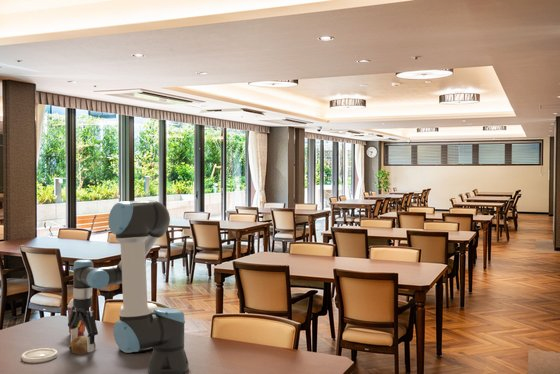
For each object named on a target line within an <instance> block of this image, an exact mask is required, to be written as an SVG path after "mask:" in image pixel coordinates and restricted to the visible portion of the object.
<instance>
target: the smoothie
mask: <svg viewBox="0 0 560 374" xmlns="http://www.w3.org/2000/svg"><path fill="white" fill-rule="evenodd" d="M74 298H75V297H72V298H71V299H70V300H69V302H68V304H67V318H68V319H67V320H68V322H69V318H70V315H71V311H72V306H73V299H74ZM71 323H72V322H71ZM77 326H78V327H77V328H78V337H80V336H84V333H85V331H86V326H85V324H84V322H82V320H80V321H79V323H78V325H77ZM68 333H69V335H70V336H71V329H70V326H68Z"/></svg>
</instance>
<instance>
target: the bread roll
mask: <svg viewBox="0 0 560 374" xmlns="http://www.w3.org/2000/svg"><path fill="white" fill-rule="evenodd" d="M87 336H88V335H81V336H78V337H77V338H76V339H74V340H73V341H72V342H71V341H70V344H69V345H68V349H69V352H70V353H72V354H74V355H86V354H91V353H93V351H91V352H87ZM96 346H97V345H96V341H94V350H96Z"/></svg>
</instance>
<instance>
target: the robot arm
mask: <svg viewBox="0 0 560 374" xmlns="http://www.w3.org/2000/svg"><path fill="white" fill-rule="evenodd" d="M107 221H108V227H109V231H110V232H111V233H112V234H113V235H115V239H116V240H117V242H118V243H119V244H120V258H121V260H120V261H119V263H118V264H117V265H113V266H112V265H111V266H102V267H94V265H93V264H94V263H93V261H92V260H90V259H78V260H75V261H74V262H73V269H72V271H73V272H72V273H73V275H72V276H73V277H72V278H73V284H72V285H73V286H72V287H73V288H72V289H73V290H72V295H73V296H72V299H73V298H74V299H73V306H72V311H71V315H70V318H69V322H68V323H67V326H68V327H69V326H70V329H71V335H70V343H71V342H72V341H73V340H74V339H76V338H77V337H79V336H78V328H77V327H78V326H77V325H78V323H79V321H80V320H82V322H84V324H85V330H86V332H87V335H86V336H87V352H91V351H92V352H95V349H94V342H96V341H95V340H96V339H95V338H96V336H97V335H99V332H98V327H97V323H96V319H95V311H94V310H92V311H91V310H90V308H91V307H92V306H93V289H104V287H106V286H111V285H118V284H121V285H122V306H123V311H122V312H121V313H120V312H119V315H118V317H119V320H117V321H116V322H115V323H114V325H113V329H112V331H113V337H114V341H115V344H116V345H117V347H118V348H119V349H120V350H121V351H122V352H124V353H129V354H130V353H133V352H134V353H138V352H137V351H139V350H143V349H147V348H151V347H153V349H152V353H151V357H150V359H149V362H148V365H147V372H148V373H149V374H185V373H187V372H188V371H189V369H190V368H189V359H188V357H187V353H186V350H185V323H186V321H185V313H184V312H183V311H182V310H180V309H176V308H170V307H157V308H156V309H154V311H153V315H152V311H151V310H150V309H149V308H148V303H149V302H148V286H147V261H146V257H147V255H148V254H149V253H150V251H151V249H152V248H153V247H154V245H155V243H156V242H157V240H159V238H162V237H164V236H165V234H166V233H167V231H168V229H169V226H170V223H171V217H170V212H169V209H168V208H167V207H166V206H165V205H164V203H163V204H162V203H161V202H159V201H157V200H127V201H119V202H117V203H115V204H114V205H113V206H112V208H111V209H110V211H109V214H108V220H107ZM71 322H72V323H71ZM92 352H91V353H92Z"/></svg>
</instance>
